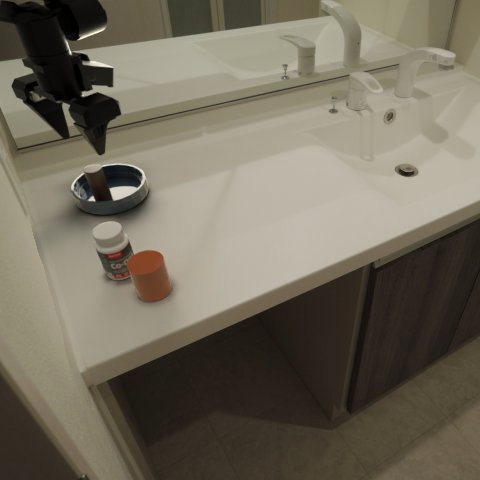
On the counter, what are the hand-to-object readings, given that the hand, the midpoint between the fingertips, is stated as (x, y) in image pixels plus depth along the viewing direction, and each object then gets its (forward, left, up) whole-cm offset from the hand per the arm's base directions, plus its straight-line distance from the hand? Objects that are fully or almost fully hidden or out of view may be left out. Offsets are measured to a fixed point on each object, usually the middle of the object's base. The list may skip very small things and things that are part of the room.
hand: (83, 146), depth 71 cm
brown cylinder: (0, 0, -8) cm, 8 cm away
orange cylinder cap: (+19, -18, -12) cm, 29 cm away
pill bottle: (+12, -15, -12) cm, 23 cm away
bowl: (0, +2, -12) cm, 12 cm away
